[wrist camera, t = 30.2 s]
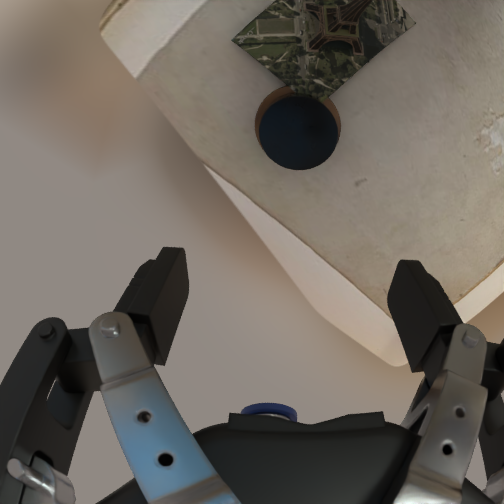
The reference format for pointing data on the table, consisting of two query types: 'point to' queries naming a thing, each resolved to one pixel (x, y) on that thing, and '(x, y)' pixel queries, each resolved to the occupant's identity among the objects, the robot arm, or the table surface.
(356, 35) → the eiffel tower figurine
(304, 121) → the lid
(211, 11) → the table surface
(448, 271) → the table surface
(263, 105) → the coaster
